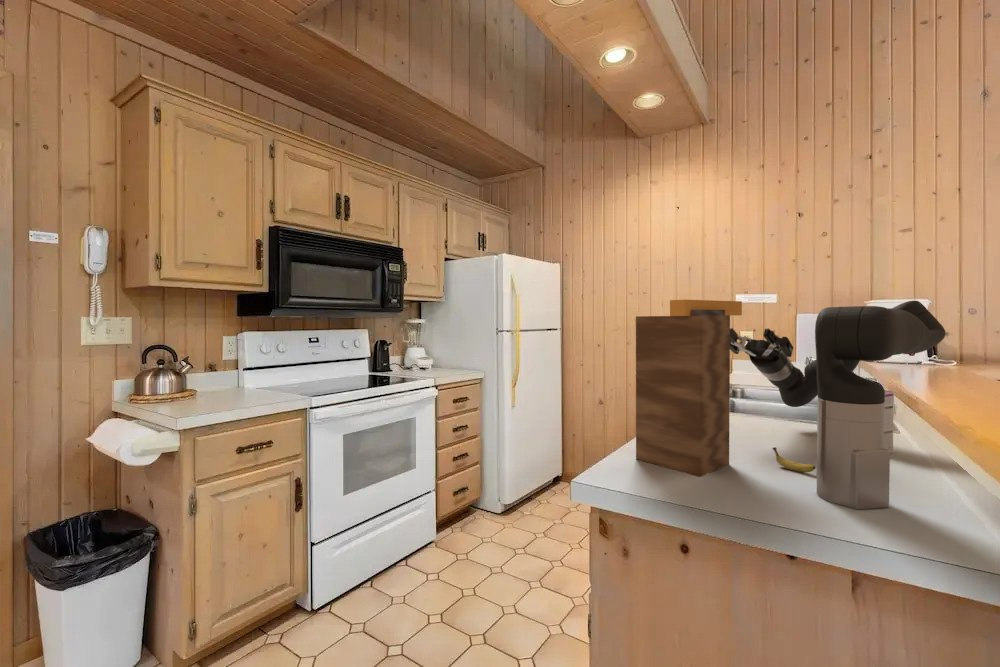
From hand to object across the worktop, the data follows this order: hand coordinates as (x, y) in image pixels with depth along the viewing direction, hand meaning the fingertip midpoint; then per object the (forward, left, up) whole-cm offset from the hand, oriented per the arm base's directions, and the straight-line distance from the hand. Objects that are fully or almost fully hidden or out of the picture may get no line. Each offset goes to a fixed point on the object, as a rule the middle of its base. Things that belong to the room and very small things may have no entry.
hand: (746, 331), depth 112 cm
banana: (-17, +2, -28) cm, 33 cm away
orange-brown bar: (-9, +16, +4) cm, 19 cm away
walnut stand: (-8, +21, -28) cm, 36 cm away
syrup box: (-8, -26, -28) cm, 39 cm away
